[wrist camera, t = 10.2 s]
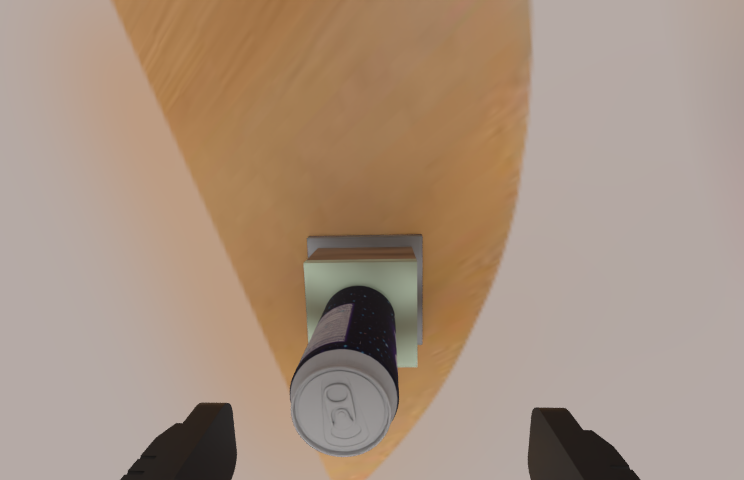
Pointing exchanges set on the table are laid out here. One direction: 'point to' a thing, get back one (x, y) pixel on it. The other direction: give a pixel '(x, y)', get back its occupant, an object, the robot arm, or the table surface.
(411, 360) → the block
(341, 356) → the beverage can
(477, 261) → the table surface
